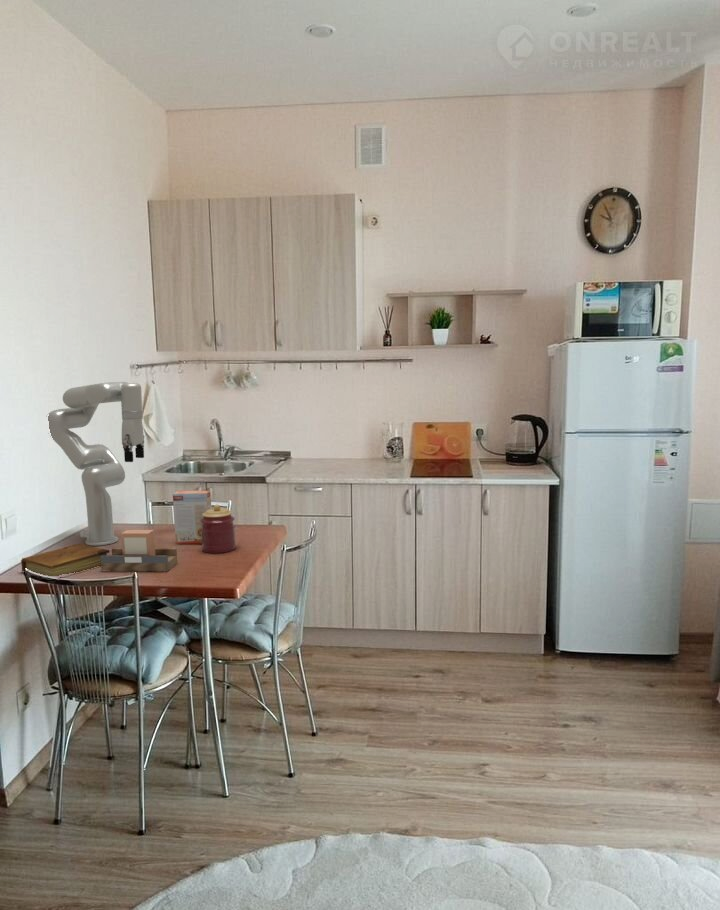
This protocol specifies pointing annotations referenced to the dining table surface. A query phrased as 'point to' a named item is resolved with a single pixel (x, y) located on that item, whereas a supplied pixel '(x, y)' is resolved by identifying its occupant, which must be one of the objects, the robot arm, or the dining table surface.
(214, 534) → the canister
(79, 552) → the diary
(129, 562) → the wooden storage tray
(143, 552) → the carton
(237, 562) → the dining table surface
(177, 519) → the cracker box
